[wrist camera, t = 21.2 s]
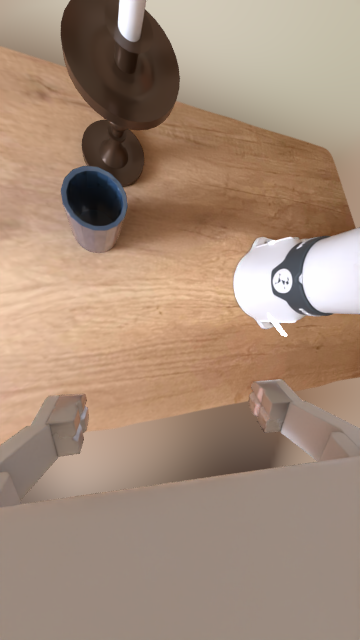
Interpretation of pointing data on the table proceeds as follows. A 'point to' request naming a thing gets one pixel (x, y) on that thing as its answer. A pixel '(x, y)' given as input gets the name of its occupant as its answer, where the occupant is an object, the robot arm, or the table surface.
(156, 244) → the table surface
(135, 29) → the candlestick
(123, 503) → the robot arm
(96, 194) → the cup
